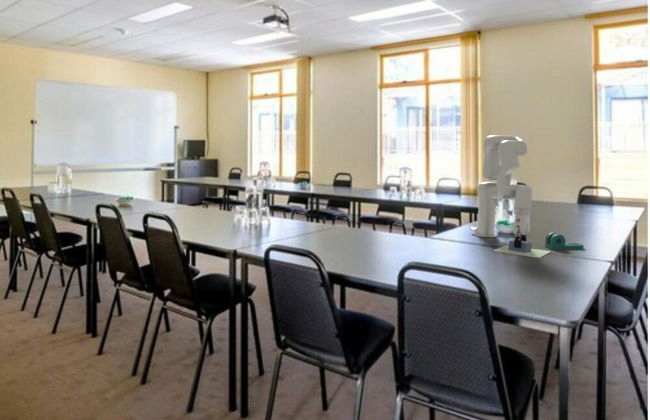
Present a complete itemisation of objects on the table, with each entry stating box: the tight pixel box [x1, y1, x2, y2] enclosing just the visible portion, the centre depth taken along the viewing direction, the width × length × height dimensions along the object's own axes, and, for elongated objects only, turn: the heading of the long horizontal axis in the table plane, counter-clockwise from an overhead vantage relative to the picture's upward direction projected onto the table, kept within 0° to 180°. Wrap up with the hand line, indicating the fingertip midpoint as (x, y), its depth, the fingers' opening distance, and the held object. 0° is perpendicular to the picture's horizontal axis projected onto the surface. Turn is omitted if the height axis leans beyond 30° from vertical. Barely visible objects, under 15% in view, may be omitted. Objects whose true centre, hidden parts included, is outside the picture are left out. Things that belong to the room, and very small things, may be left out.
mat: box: [492, 244, 551, 259], centre depth 233 cm, size 22×18×1 cm
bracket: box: [544, 231, 584, 251], centre depth 243 cm, size 18×7×8 cm, turn 93°
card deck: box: [508, 239, 533, 253], centre depth 234 cm, size 6×9×5 cm, turn 41°
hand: (520, 246), depth 234 cm, fingers open, 7 cm apart
